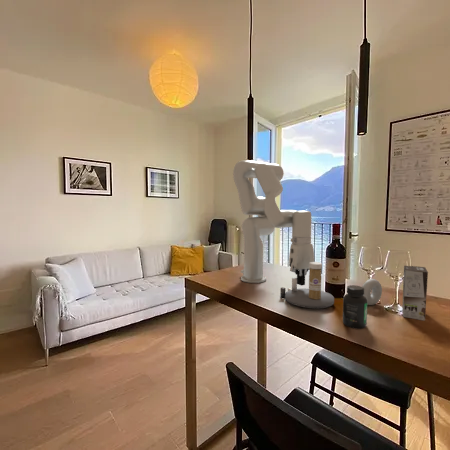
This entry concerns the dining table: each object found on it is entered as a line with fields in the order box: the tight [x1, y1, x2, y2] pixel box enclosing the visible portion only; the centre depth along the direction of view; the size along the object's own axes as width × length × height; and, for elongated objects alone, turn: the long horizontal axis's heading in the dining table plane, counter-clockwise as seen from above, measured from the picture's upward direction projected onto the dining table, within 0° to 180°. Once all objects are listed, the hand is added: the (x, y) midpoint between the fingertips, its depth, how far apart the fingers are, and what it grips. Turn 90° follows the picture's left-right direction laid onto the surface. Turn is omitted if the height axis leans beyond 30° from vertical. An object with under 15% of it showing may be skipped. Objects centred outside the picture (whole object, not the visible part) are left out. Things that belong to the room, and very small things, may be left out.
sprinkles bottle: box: [308, 261, 323, 299], centre depth 103 cm, size 5×5×14 cm
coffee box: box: [401, 265, 429, 321], centre depth 94 cm, size 9×6×16 cm
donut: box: [361, 278, 383, 306], centre depth 103 cm, size 10×3×10 cm, turn 117°
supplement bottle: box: [342, 284, 368, 330], centre depth 87 cm, size 7×7×12 cm
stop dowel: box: [279, 287, 287, 300], centre depth 112 cm, size 2×2×4 cm
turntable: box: [284, 277, 335, 309], centre depth 107 cm, size 20×18×6 cm
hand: (300, 284), depth 114 cm, fingers closed
